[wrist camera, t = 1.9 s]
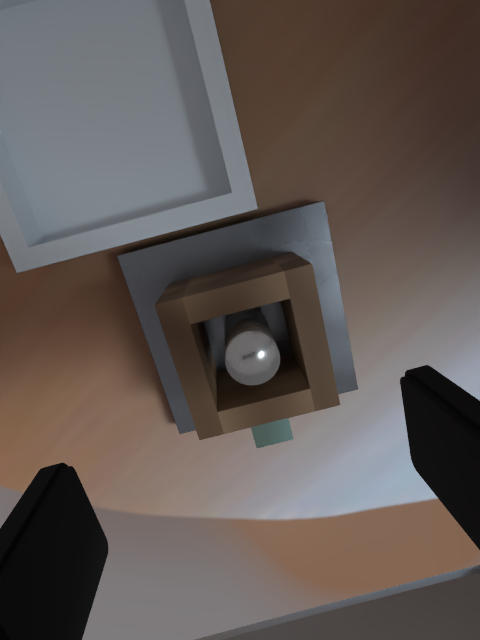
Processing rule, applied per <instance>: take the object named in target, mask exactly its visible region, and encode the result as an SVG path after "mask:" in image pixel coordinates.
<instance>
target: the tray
mask: <svg viewBox="0 0 480 640" xmlns="http://www.w3.org/2000/svg"><path fill="white" fill-rule="evenodd" d="M255 209H258V207H257V203H256V199H255V194H254V190H253V186H252V181H251V177H250V173H249V168H248V164H247V160H246V155H245V151H244V147H243V142H242V138H241V134H240V129H239V125H238V121H237V116H236V112H235V108H234V103H233V99H232V95H231V90H230V86H229V82H228V77H227V73H226V69H225V64H224V60H223V56H222V51H221V47H220V43H219V38H218V34H217V30H216V25H215V21H214V17H213V12H212V8H211V4H210V0H0V235H1V238H2V240H3V242H4V245H5V247H6V249H7V251H8V254H9V256H10V258H11V261H12V263H13V265H14V267H15V270H16V272H17V273H19V272H23V271H27V270H30V269H34V268H38V267H42V266H45V265H49V264H53V263H57V262H60V261H64V260H68V259H72V258H75V257H79V256H83V255H87V254H90V253H94V252H98V251H102V250H105V249H109V248H113V247H117V246H120V245H124V244H128V243H132V242H135V241H139V240H143V239H147V238H150V237H154V236H158V235H162V234H165V233H169V232H173V231H177V230H180V229H184V228H188V227H192V226H195V225H199V224H203V223H207V222H210V221H214V220H218V219H222V218H225V217H229V216H233V215H237V214H240V213H244V212H248V211H252V210H255Z"/></svg>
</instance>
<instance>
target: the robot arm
mask: <svg viewBox="0 0 480 640" xmlns="http://www.w3.org/2000/svg"><path fill="white" fill-rule="evenodd" d="M400 384H401V391H402V398H403V405H404V412H405V419H406V426H407V433H408V440H409V447H410V454H411V460H412V463H413V465H414V467H415V469H416V471H417V472H418V473H419V475H420V476H421V477H422V478H423V480H424V481H425V482H426V483H427V485H428V486H429V487H430V488H431V490H432V491H433V492H434V493H435V495H436V496H437V497H438V498H439V500H440V501H441V502H442V503H443V505H444V506H445V507H446V508H447V510H448V511H449V512H450V513H451V515H452V516H453V517H454V518H455V520H456V521H457V522H458V523H459V525H460V526H461V527H462V528H463V529H464V531H465V532H466V533H467V535H468V536H469V537H470V538H471V540H472V541H473V542H474V543H475V545H476V546H477V547H478V548H479V550H480V401H479V400H478V399H476V398H475V397H473V396H472V395H471V394H469V393H468V392H466V391H465V390H463V389H462V388H460V387H459V386H458V385H456V384H455V383H453V382H452V381H450V380H449V379H448V378H446V377H445V376H443V375H442V374H440V373H439V372H437V371H436V370H435V369H433V368H432V367H430V366H428V365H425V366H421V367H418V368H414V369H410V370H407V371H406V372H405V377H401V379H400ZM107 555H108V542H107V539H106V536H105V534H104V532H103V530H102V528H101V525H100V523H99V521H98V519H97V517H96V514H95V512H94V510H93V508H92V506H91V504H90V501H89V499H88V497H87V495H86V493H85V490H84V488H83V486H82V484H81V482H80V480H79V477H78V475H77V473H76V471H75V469H74V468H73V467H72V466H69V467H68V465H66V464H65V463H59V464H56V465H52V466H48V467H45V468H42V469H40V470H39V472H38V473H37V475H36V476H35V478H34V479H33V481H32V482H31V484H30V485H29V487H28V488H27V490H26V491H25V492H24V494H23V495H22V497H21V499H20V500H19V502H18V503H17V504H16V506H15V507H14V509H13V510H12V512H11V513H10V515H9V517H8V518H7V519H6V521H5V522H4V524H3V525H2V527H1V528H0V640H82V637H83V634H84V631H85V627H86V624H87V621H88V617H89V614H90V611H91V608H92V604H93V600H94V597H95V594H96V591H97V588H98V585H99V581H100V578H101V575H102V571H103V568H104V565H105V561H106V558H107ZM195 640H480V565H478V566H474V567H470V568H466V569H462V570H458V571H453V572H449V573H445V574H441V575H437V576H433V577H429V578H425V579H421V580H418V581H414V582H410V583H406V584H402V585H398V586H395V587H391V588H387V589H383V590H379V591H375V592H372V593H368V594H364V595H360V596H357V597H353V598H349V599H346V600H341V601H338V602H334V603H330V604H326V605H322V606H318V607H314V608H311V609H307V610H303V611H300V612H296V613H292V614H288V615H285V616H281V617H277V618H273V619H270V620H266V621H262V622H258V623H255V624H251V625H247V626H243V627H240V628H236V629H233V630H229V631H225V632H222V633H218V634H214V635H210V636H206V637H203V638H200V639H195Z"/></svg>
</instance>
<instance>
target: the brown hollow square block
mask: <svg viewBox="0 0 480 640" xmlns="http://www.w3.org/2000/svg"><path fill="white" fill-rule="evenodd" d="M278 301H281V305H282V309H283V313H284V318H285V322H286V326H287V331H288V335H289V340H290V344H291V348H292V353H291V354H287V355H283V356H280V365H279V368H278V370H277V372H276V373H275V375H274V376H273V377H272V378H271V379H270V380H268V381H266V382H265V383H262V384H259V385H245V384H242V383H239V382H238V381H236V380H235V379H233V378H232V377H231V375H230V374H229V372H228V371H227V370H224V371H220V372H218V370H217V367H216V363H215V360H214V356H213V353H212V350H211V346H210V343H209V340H208V336H207V333H206V330H205V326H204V323H203V321H205V320H209V319H213V318H216V317H220V316H224V315H228V314H232V313H236V312H240V311H243V310H247V309H251V308H255V307H259V306H263V305H267V304H270V303H274V302H278ZM154 306H155V309H156V312H157V315H158V318H159V321H160V324H161V327H162V330H163V332H164V335H165V338H166V341H167V344H168V347H169V350H170V353H171V356H172V359H173V362H174V365H175V368H176V371H177V374H178V377H179V380H180V383H181V386H182V389H183V392H184V395H185V398H186V401H187V404H188V407H189V410H190V413H191V416H192V419H193V422H194V425H195V428H196V431H197V434H198V437H199V440H202V439H206V438H210V437H214V436H218V435H222V434H226V433H230V432H234V431H238V430H242V429H246V428H250V427H251V429H252V433H253V436H254V440H255V443H256V447H257V448H260V447H264V446H268V445H272V444H276V443H280V442H284V441H288V440H292V439H293V436H292V432H291V428H290V423H289V419H288V418H290V417H294V416H298V415H302V414H306V413H310V412H314V411H318V410H322V409H326V408H330V407H334V406H338V405H340V402H339V397H338V391H337V386H336V381H335V376H334V371H333V366H332V361H331V356H330V351H329V346H328V341H327V336H326V331H325V326H324V320H323V315H322V310H321V305H320V300H319V295H318V290H317V285H316V280H315V275H314V270H313V265H312V263H310V262H309V261H307V260H305V259H304V258H302V257H300V256H299V255H297V254H295V253H294V252H290V253H287V254H283V255H279V256H275V257H271V258H268V259H264V260H260V261H256V262H252V263H248V264H245V265H241V266H237V267H233V268H229V269H226V270H222V271H218V272H214V273H210V274H207V275H203V276H199V277H195V278H191V279H188V280H184V281H180V282H176V283H172V284H169V285H168V286H167V287H166V289H165V290H164V292H163V293H162V295H161V296H160V298H159V299H158V300H157V302H156V303H155V305H154Z"/></svg>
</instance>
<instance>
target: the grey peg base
mask: <svg viewBox="0 0 480 640" xmlns="http://www.w3.org/2000/svg"><path fill="white" fill-rule="evenodd" d="M290 252H294V253H295V254H297V255H299V256H300V257H302V258H304V259H305V260H307V261H309V262H310V263H312V265H313V270H314V275H315V280H316V285H317V290H318V295H319V300H320V305H321V310H322V315H323V320H324V326H325V331H326V336H327V341H328V346H329V351H330V356H331V361H332V366H333V371H334V376H335V381H336V386H337V391H338V394H341V393H345V392H349V391H353V390H357V389H358V386H357V381H356V375H355V370H354V364H353V358H352V353H351V347H350V342H349V336H348V330H347V325H346V319H345V314H344V308H343V302H342V297H341V291H340V286H339V280H338V274H337V269H336V263H335V258H334V252H333V246H332V241H331V235H330V230H329V224H328V218H327V213H326V207H325V202H324V201H318V202H314V203H311V204H307V205H303V206H299V207H296V208H292V209H288V210H284V211H281V212H277V213H273V214H269V215H265V216H262V217H258V218H254V219H250V220H247V221H243V222H239V223H235V224H232V225H228V226H224V227H220V228H217V229H213V230H209V231H205V232H202V233H198V234H194V235H190V236H187V237H183V238H179V239H175V240H171V241H168V242H164V243H160V244H156V245H153V246H149V247H145V248H141V249H138V250H134V251H130V252H126V253H123V254H121V255H118V256H117V257H118V260H119V263H120V266H121V269H122V271H123V274H124V277H125V280H126V283H127V286H128V288H129V291H130V294H131V297H132V300H133V303H134V306H135V308H136V311H137V314H138V317H139V320H140V323H141V325H142V328H143V331H144V334H145V337H146V340H147V343H148V345H149V348H150V351H151V354H152V357H153V360H154V362H155V365H156V368H157V371H158V374H159V377H160V379H161V382H162V385H163V388H164V391H165V394H166V397H167V399H168V402H169V405H170V408H171V411H172V414H173V416H174V419H175V422H176V425H177V428H178V431H179V434H182V433H186V432H190V431H194V430H196V428H195V425H194V422H193V419H192V416H191V413H190V410H189V407H188V404H187V401H186V398H185V395H184V392H183V389H182V386H181V383H180V380H179V377H178V374H177V371H176V368H175V365H174V362H173V359H172V356H171V353H170V350H169V347H168V344H167V341H166V338H165V335H164V332H163V330H162V327H161V324H160V321H159V318H158V315H157V312H156V309H155V306H154V305H155V303H156V302H157V300H158V299H159V298H160V296H161V295H162V293H163V292H164V290H165V289H166V287H167V286H168V285H169V284H172V283H176V282H180V281H184V280H188V279H191V278H195V277H199V276H203V275H207V274H210V273H214V272H218V271H222V270H226V269H229V268H233V267H237V266H241V265H245V264H248V263H252V262H256V261H260V260H264V259H268V258H271V257H275V256H279V255H283V254H287V253H290ZM203 323H204V326H205V330H206V333H207V336H208V340H209V343H210V346H211V350H212V353H213V356H214V360H215V363H216V367H217V370H218V372H220V371H224V370H227V371H228V372H229V374H230V375H231V377H232V378H233V379H235V380H236V381H238V382H239V383H242V384H245V385H259V384H262V383H265V382H266V381H268V380H270V379H271V378H272V377H273V376H274V375H275V373H276V372H277V370H278V368H279V365H280V356H283V355H287V354H291V353H292V348H291V344H290V340H289V335H288V331H287V326H286V322H285V318H284V313H283V309H282V305H281V301H278V302H274V303H270V304H267V305H263V306H259V307H255V308H251V309H247V310H243V311H240V312H236V313H232V314H228V315H224V316H220V317H216V318H213V319H209V320H205V321H203Z"/></svg>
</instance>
